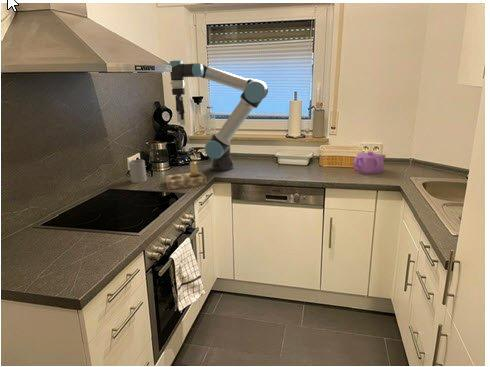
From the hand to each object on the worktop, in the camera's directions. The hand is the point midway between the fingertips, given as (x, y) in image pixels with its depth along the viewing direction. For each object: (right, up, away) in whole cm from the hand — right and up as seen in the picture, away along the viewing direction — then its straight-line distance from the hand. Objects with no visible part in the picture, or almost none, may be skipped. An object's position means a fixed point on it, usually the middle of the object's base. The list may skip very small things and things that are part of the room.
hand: (181, 123), depth 215 cm
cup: (-25, -35, -3) cm, 43 cm away
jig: (+5, -37, -11) cm, 39 cm away
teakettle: (+116, -29, +1) cm, 120 cm away
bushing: (+10, -36, -10) cm, 39 cm away
